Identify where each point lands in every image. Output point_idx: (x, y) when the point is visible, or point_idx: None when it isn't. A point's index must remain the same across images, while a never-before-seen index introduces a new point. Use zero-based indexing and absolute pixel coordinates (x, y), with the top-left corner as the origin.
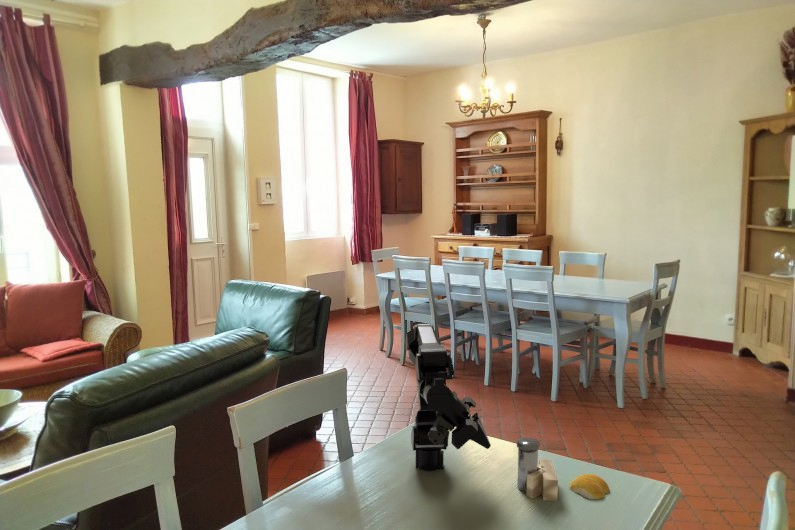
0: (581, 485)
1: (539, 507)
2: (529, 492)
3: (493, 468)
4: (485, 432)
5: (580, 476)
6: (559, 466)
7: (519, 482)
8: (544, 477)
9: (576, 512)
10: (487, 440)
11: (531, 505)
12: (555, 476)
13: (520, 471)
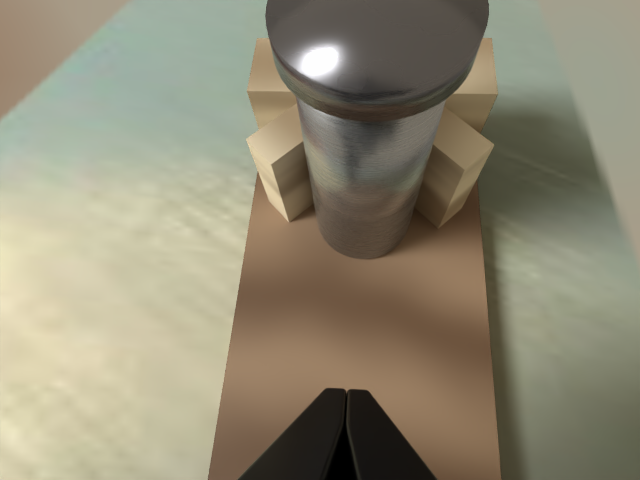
0: None
1: (482, 193)
2: (456, 205)
3: (113, 360)
4: (253, 473)
5: None
6: (136, 81)
7: (390, 237)
8: (472, 89)
9: None
10: (404, 442)
11: None
12: None
13: (404, 202)
